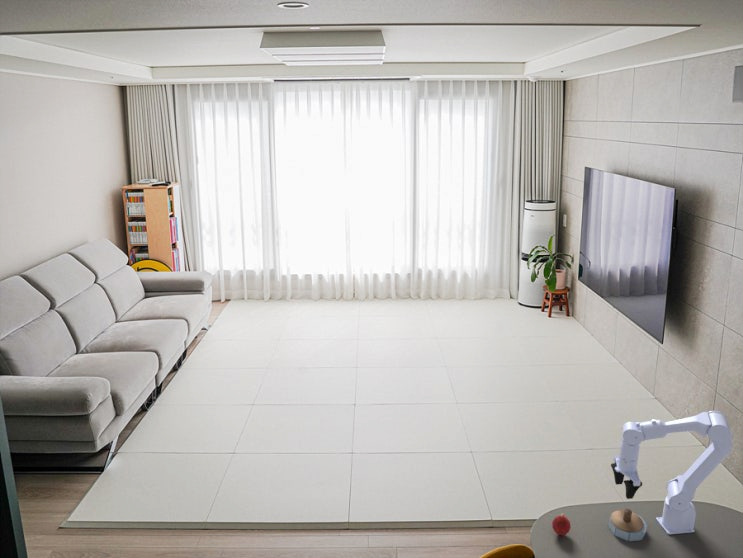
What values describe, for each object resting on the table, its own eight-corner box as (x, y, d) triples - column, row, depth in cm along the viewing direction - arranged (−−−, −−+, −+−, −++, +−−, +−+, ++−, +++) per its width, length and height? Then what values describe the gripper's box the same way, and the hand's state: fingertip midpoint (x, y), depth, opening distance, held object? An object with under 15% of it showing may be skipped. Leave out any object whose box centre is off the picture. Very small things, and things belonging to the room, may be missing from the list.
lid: (633, 510, 222) (635, 500, 220) (648, 531, 212) (650, 520, 211) (605, 513, 221) (607, 502, 219) (619, 533, 212) (620, 522, 210)
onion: (570, 541, 212) (572, 521, 210) (552, 539, 214) (553, 519, 211) (568, 529, 218) (570, 510, 215) (551, 527, 219) (552, 507, 216)
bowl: (634, 516, 223) (635, 509, 222) (651, 539, 213) (652, 531, 212) (603, 519, 222) (604, 512, 221) (619, 542, 212) (620, 534, 211)
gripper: (607, 445, 222) (603, 478, 227) (627, 470, 209) (623, 505, 213) (626, 443, 223) (622, 476, 228) (648, 468, 210) (643, 503, 214)
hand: (624, 490), depth 220 cm, fingers open, 7 cm apart
